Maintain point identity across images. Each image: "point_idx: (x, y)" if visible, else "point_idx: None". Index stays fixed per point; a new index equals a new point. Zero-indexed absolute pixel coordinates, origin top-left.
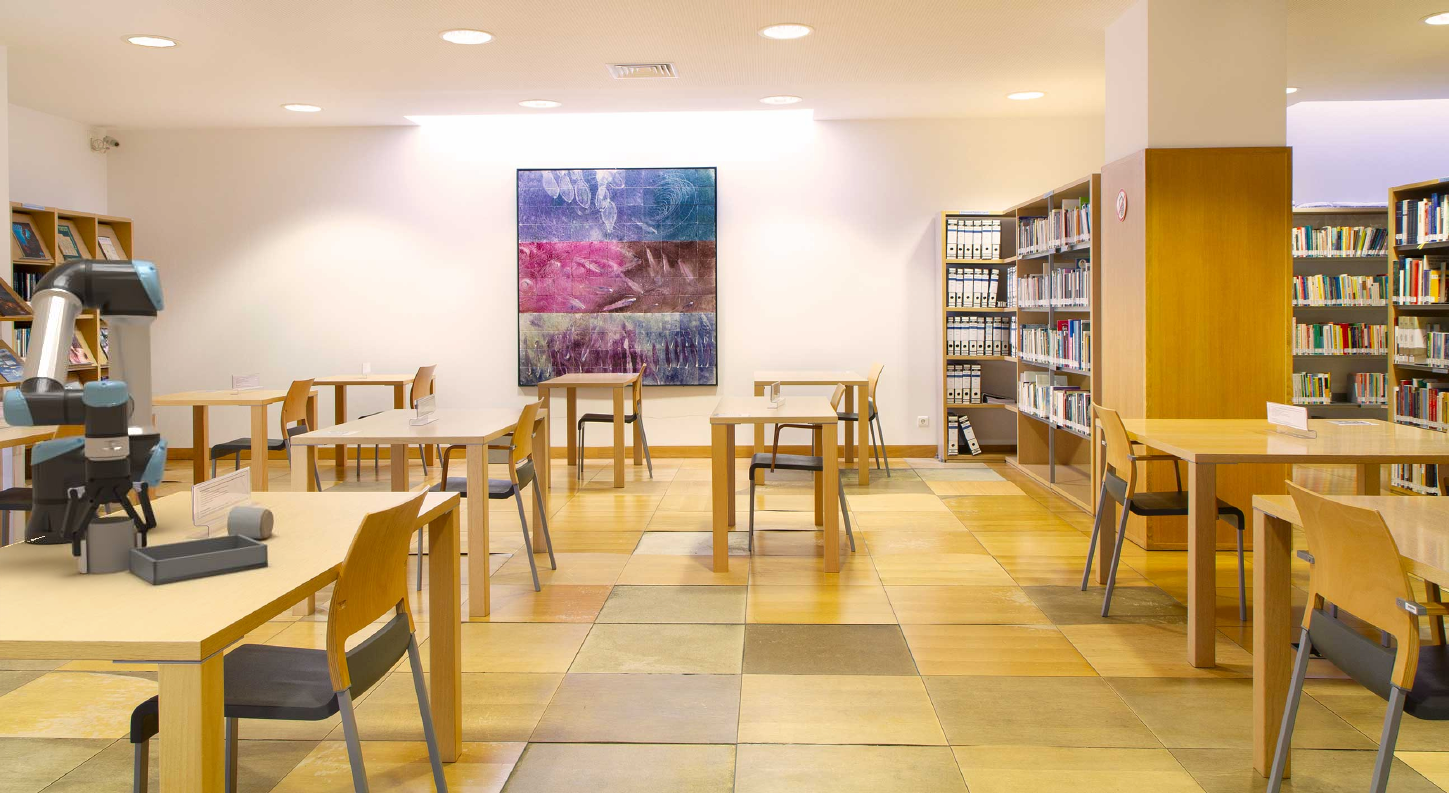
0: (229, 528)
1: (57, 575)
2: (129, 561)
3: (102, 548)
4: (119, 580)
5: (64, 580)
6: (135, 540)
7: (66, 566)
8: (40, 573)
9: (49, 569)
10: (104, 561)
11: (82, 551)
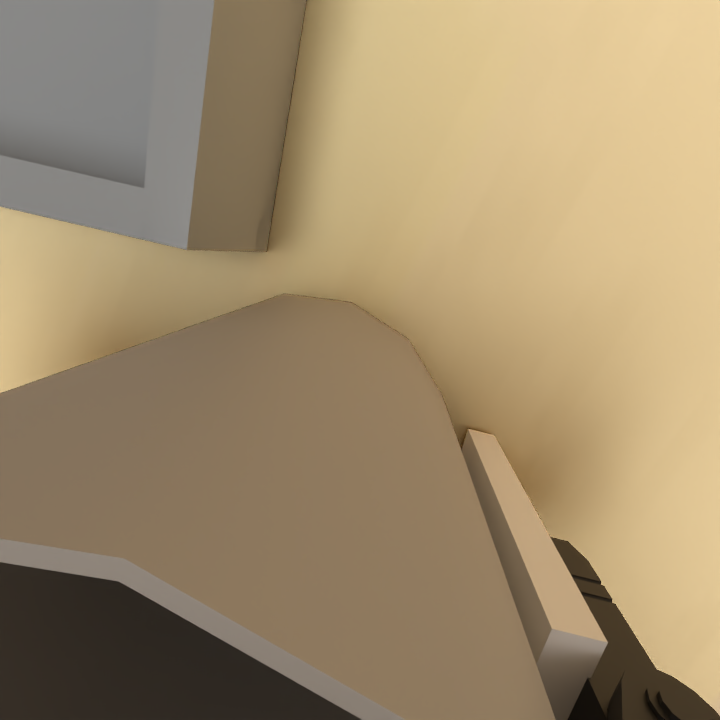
0: None
1: (581, 537)
2: (239, 250)
3: (419, 397)
4: (458, 4)
5: (650, 373)
6: None
7: None
8: None
9: None
10: (401, 351)
11: (541, 536)
